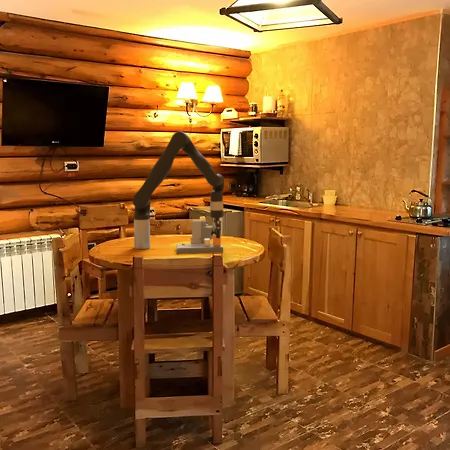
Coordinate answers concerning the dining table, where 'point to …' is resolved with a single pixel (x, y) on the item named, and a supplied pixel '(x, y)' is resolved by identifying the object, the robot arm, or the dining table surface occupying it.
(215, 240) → the cap
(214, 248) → the breaker panel
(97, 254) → the dining table surface
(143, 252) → the dining table surface
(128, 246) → the dining table surface
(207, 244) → the switch
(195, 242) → the circuit breaker
